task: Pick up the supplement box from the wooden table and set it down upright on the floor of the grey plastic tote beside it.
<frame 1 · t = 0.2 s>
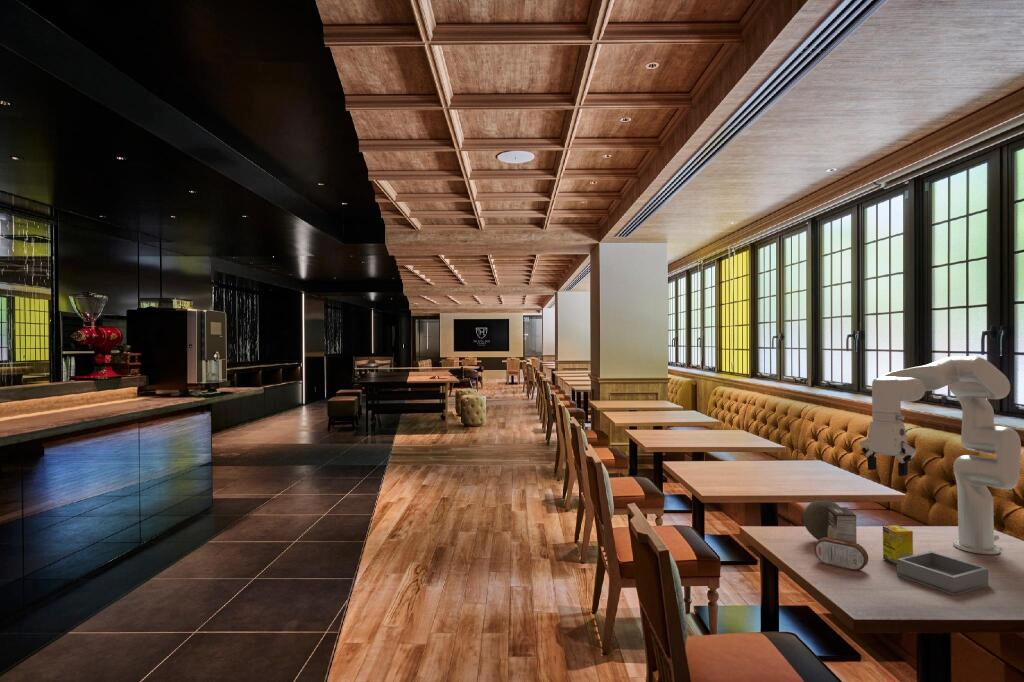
hand: (887, 472, 184), 30 cm above the table, tool pointing down, fingers open, 9 cm apart
coffee box: (842, 560, 192), on the table
supplement box: (897, 562, 189), on the table
tote: (941, 580, 174), on the table
tin: (840, 567, 186), on the table
smooth river stone: (826, 544, 207), on the table
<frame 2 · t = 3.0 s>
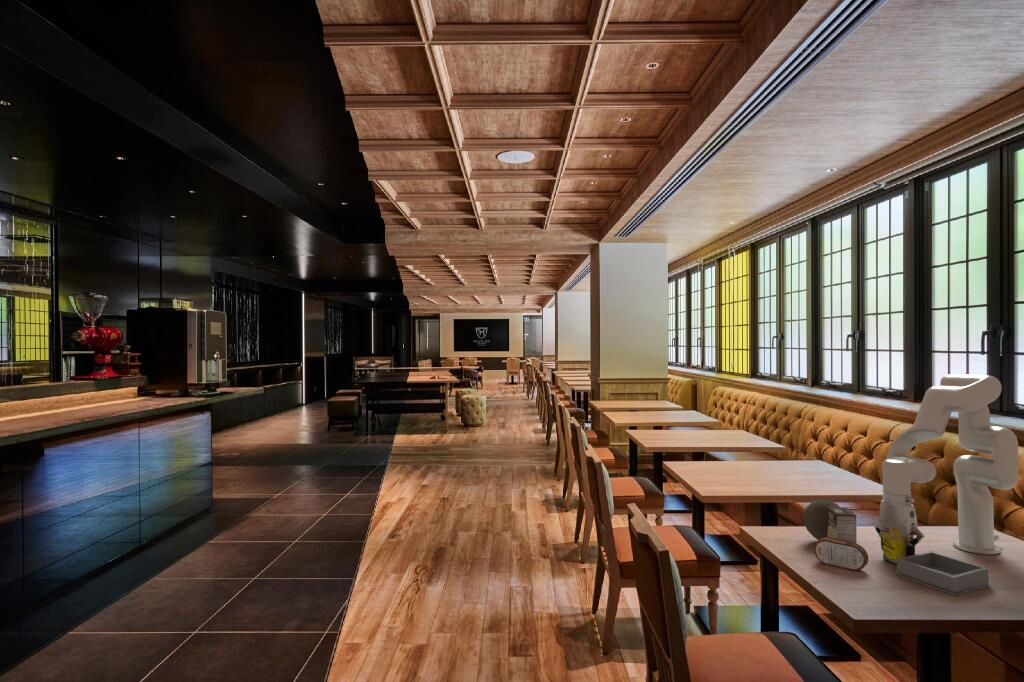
hand: (897, 553, 189), 3 cm above the table, tool pointing down, fingers closed on supplement box, 7 cm apart
supplement box: (897, 562, 189), on the table, touching gripper
everything else where it was.
when the fingers open (5 cm above the table, at t = 9.6 s): supplement box drops 1 cm, resting on tote.
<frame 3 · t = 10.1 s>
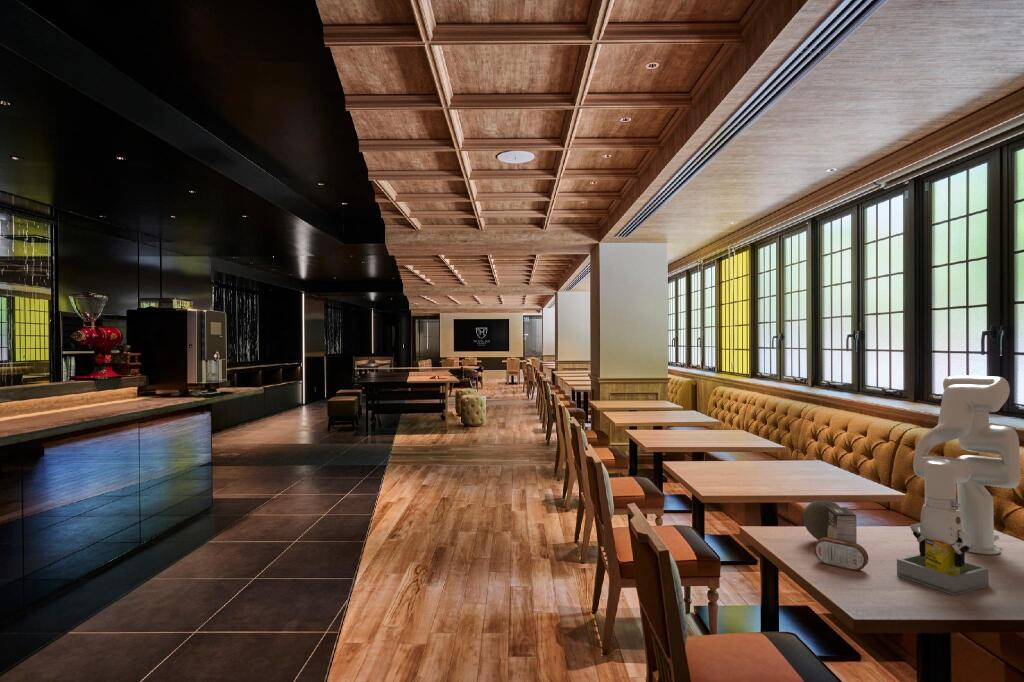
hand: (941, 560, 174), 6 cm above the table, tool pointing down, fingers open, 9 cm apart
supplement box: (942, 577, 174), point 1 cm above the table, touching tote
everything else where it was.
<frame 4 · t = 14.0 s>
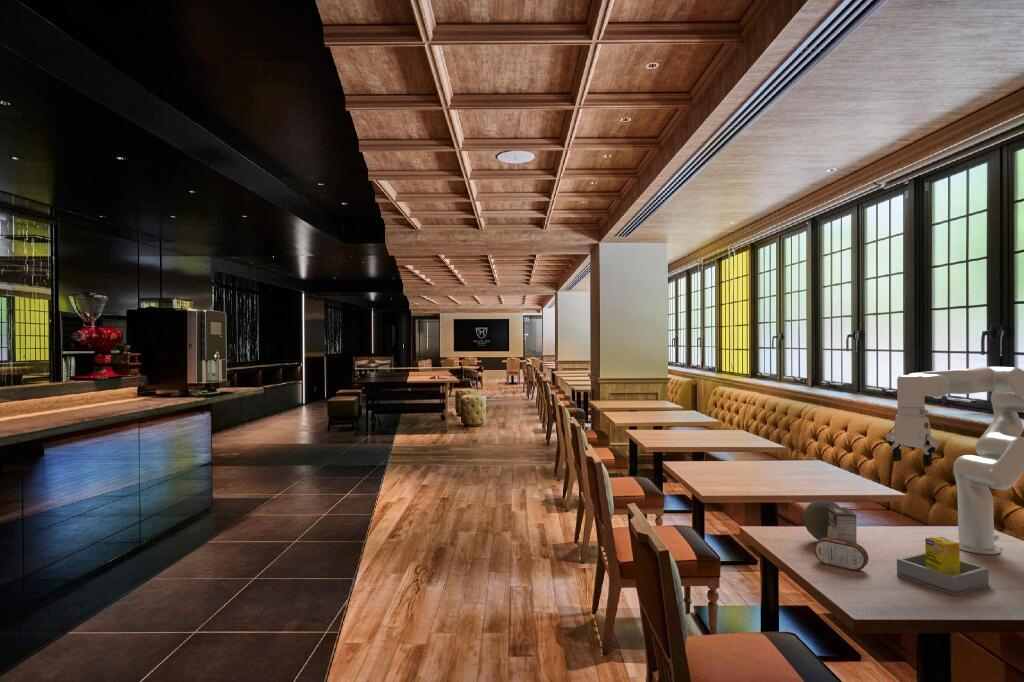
hand: (912, 463, 196), 30 cm above the table, tool pointing down, fingers open, 9 cm apart
nothing on the table moved.
at the end: supplement box inside the target area on the tote (0.2 cm from its centre), point 0.8 cm above the tote's base; supplement box tilted 0°; the gripper is holding nothing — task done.
